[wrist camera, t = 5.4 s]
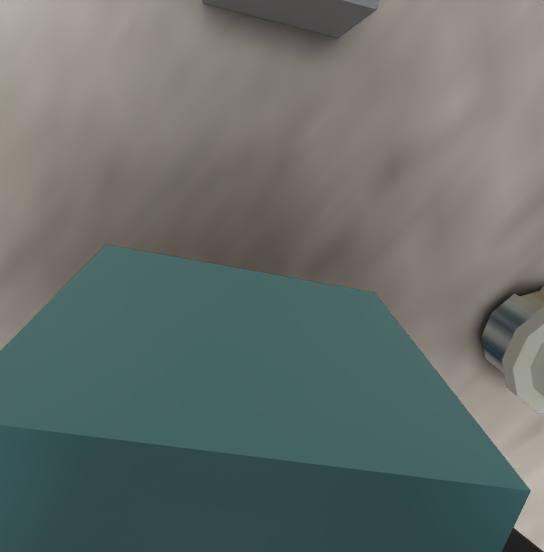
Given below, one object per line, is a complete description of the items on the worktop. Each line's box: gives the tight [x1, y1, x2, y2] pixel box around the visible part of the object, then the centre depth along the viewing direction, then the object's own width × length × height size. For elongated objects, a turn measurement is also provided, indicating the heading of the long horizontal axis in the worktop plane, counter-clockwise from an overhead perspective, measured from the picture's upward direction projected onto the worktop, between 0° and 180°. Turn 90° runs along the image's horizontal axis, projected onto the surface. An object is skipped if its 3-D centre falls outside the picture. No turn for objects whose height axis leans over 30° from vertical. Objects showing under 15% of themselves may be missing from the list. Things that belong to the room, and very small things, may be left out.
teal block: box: [0, 244, 530, 552], centre depth 7 cm, size 5×5×5 cm
